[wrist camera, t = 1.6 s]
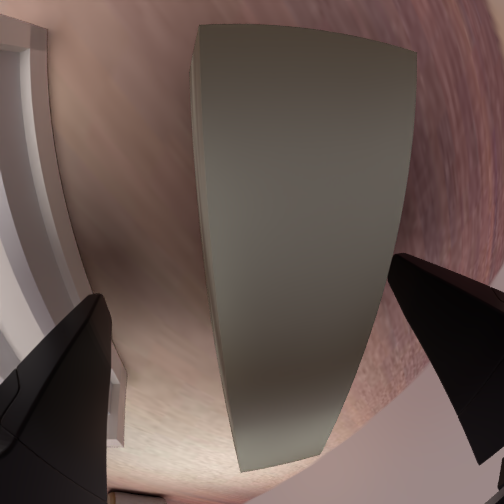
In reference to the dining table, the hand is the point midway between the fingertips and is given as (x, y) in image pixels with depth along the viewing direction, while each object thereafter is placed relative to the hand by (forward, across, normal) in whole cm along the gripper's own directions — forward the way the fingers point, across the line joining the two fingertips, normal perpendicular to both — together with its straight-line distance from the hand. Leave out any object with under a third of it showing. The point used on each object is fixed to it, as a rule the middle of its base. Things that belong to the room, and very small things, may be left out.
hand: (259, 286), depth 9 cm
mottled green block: (+5, 0, 0) cm, 5 cm away
